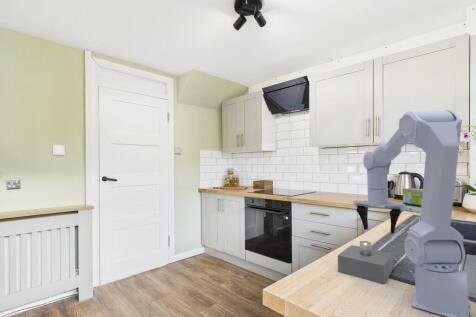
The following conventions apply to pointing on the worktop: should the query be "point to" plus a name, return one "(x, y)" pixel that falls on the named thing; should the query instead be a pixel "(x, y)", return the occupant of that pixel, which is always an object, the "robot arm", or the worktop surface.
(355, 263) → the cover
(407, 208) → the tea box
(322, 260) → the worktop surface
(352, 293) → the worktop surface
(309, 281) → the worktop surface
